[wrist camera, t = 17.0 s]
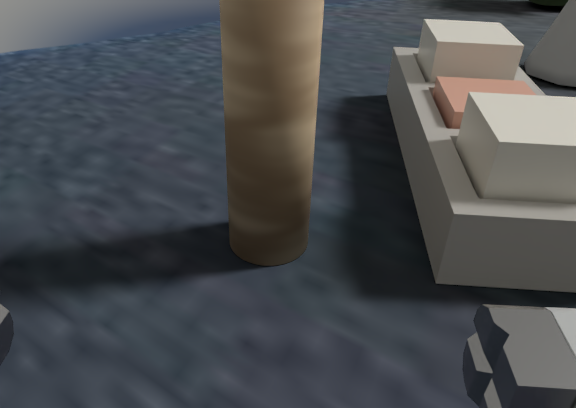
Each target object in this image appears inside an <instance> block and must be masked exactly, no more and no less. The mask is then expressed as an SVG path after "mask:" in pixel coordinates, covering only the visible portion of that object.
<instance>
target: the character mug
mask: <svg viewBox="0 0 576 408" xmlns="http://www.w3.org/2000/svg"><path fill="white" fill-rule="evenodd" d="M529 1H531V2H533V3H536V4H540V5H548V6H559V8H560V9H563V8H564V6H565V5H566V3H567V2H568V0H529Z"/></svg>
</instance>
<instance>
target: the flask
mask: <svg viewBox="0 0 576 408" xmlns="http://www.w3.org/2000/svg"><path fill="white" fill-rule="evenodd" d="M524 66H525V70H526V74H529V75H532V76H534V77H537V78H540V79H543V80H546V81H549V82H552V83H555V84H558V85H565V86H573V87H576V0H568V2H567V3H566V5H565V6H564V8H563V9H562V11H561V12H560V13H559V15H558V16H557V18H556V19H555V21H554V22H553V24H552V25H551V27H550V28H549V29H548V31H547V32H546V33H545V35H544V36H543V37H542V39H541V40H540V42H539V43H538V44H537V46H536V47H535V48H534V50H533V51H532V52H531V54H530V55H529V57H528V58H527V59H526V61H525V62H524Z"/></svg>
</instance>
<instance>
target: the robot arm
mask: <svg viewBox="0 0 576 408" xmlns="http://www.w3.org/2000/svg"><path fill="white" fill-rule="evenodd" d="M1 293H2V292H1V289H0V295H1ZM473 321H474V324H475V327H476V331H477V333H475V334H474V335H473V336H471V337H470V338H468V339H467V342H466V346H465V349H464V353H463V376H464V383H465V387H466V391H467V395H468V396H469V397H470V398H471V399H472V400H473V401H474V402H475V403H476V404H477V405H478V406H479V408H576V309H575V308H554V307H544V308H542V307H530V306H510V305H490V304H482V305H481V306H480V307H479V308H478V309H477V312H476V314H475V317H474V320H473ZM13 335H14V330H13V320H12V317H11V315H10V312H9V311H8V310H7V309H6V308H5V307H3V306H2V305H1V304H0V365H1V364H2V362H3V360H4V359H5V357H6V356H7V354H8V352H9V350H10V346H11V343H12V339H13Z"/></svg>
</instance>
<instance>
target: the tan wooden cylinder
mask: <svg viewBox="0 0 576 408" xmlns="http://www.w3.org/2000/svg"><path fill="white" fill-rule="evenodd" d="M323 10H324V0H220V23H221V47H222V70H223V94H224V118H225V142H226V166H227V190H228V214H229V238H230V246H231V249H232V250H233V252H234V253H235V254H236V255H237V256H238V257H240V258H241V259H243V260H245V261H247V262H249V263H252V264H256V265H263V266H275V265H282V264H286V263H289V262H291V261H293V260H295V259H297V258H298V257H300V256H301V255H302V254H303V253H304V251H305V250H306V248H307V244H308V231H309V216H310V201H311V187H312V172H313V157H314V142H315V128H316V113H317V98H318V83H319V69H320V54H321V39H322V25H323Z"/></svg>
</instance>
